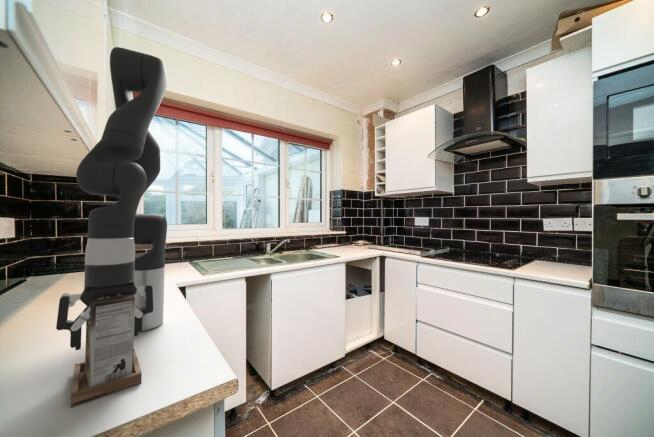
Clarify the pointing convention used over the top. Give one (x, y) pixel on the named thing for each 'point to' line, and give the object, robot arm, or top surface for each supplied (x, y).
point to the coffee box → (109, 339)
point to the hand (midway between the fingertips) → (108, 341)
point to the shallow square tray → (86, 394)
